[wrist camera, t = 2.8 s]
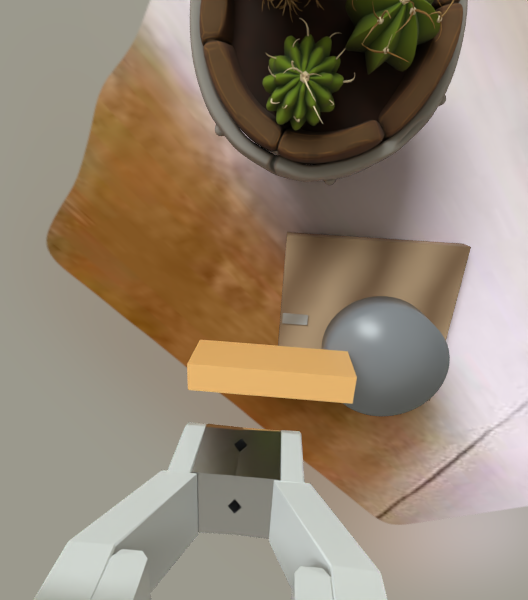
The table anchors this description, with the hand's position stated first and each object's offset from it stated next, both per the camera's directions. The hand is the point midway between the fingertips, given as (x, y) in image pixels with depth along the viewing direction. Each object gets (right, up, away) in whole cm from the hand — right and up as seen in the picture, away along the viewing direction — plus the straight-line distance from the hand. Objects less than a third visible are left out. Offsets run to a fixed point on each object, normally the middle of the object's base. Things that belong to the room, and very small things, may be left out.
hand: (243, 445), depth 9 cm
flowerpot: (+4, +21, +19) cm, 29 cm away
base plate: (+10, +2, +25) cm, 27 cm away
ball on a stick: (+5, 0, +19) cm, 20 cm away
